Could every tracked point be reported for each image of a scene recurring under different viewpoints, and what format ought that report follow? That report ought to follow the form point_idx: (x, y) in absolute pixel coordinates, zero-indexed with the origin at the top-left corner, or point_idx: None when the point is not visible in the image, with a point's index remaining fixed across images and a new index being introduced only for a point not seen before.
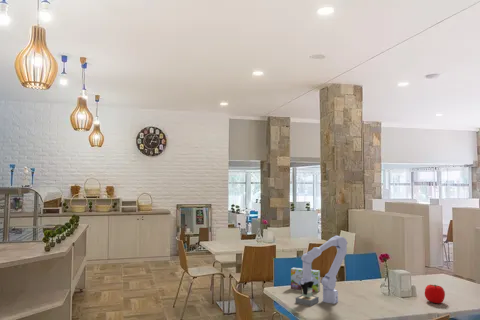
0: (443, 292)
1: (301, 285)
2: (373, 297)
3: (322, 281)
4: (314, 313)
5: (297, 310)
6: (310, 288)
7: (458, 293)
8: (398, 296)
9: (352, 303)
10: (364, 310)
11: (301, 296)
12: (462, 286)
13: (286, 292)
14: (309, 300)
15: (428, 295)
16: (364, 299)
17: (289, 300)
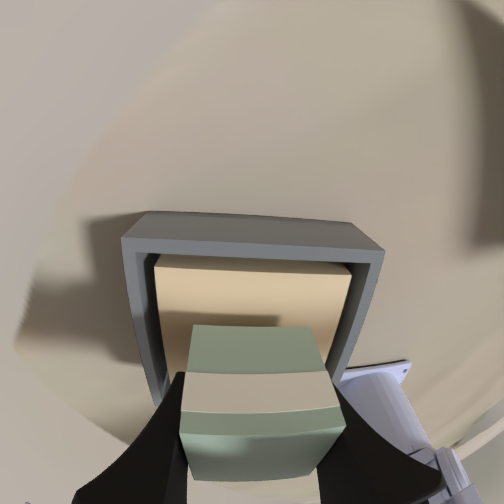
0: None
1: (94, 489)
2: (456, 424)
3: (433, 497)
4: (78, 395)
5: (30, 303)
6: (269, 477)
7: (469, 451)
8: (461, 437)
9: None
10: (287, 480)
11: (260, 272)
12: (501, 429)
13: (475, 15)
14: (151, 394)
15: None
16: (435, 428)
17: (252, 75)
